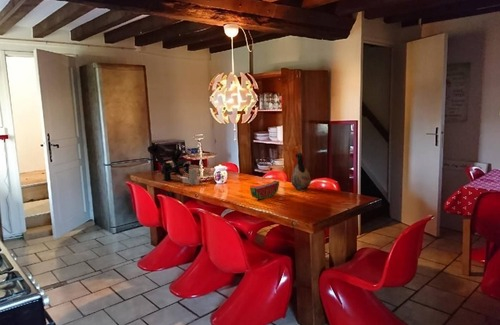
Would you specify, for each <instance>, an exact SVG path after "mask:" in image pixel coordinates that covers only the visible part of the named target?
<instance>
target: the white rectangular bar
mask: <svg viewBox="0 0 500 325" xmlns="http://www.w3.org/2000/svg"><path fill="white" fill-rule="evenodd" d="M181 180H182V183H183V184H189V185H191V184H190V181H189V177H183V178H182V179H181ZM193 185H196V186H198V185H200V179H195V180H194V182H193Z"/></svg>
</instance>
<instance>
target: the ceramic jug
mask: <svg viewBox="0 0 500 325" xmlns="http://www.w3.org/2000/svg"><path fill="white" fill-rule="evenodd" d="M294 157H295V158H296V159H297V164H296V165H295V167H294V169H293V170H292V172H291V177H290V182H291V185H292V186H293V188H294V189H295V191H300V192H303V191H307V190H308V188H309V187H310V185H311V182H312V178H311V174H310V172H309V171H308V169H307V167H306V166H305V165H304V156H303V154H302V153H301V152H298V153H295V155H294Z"/></svg>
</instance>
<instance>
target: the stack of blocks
mask: <svg viewBox="0 0 500 325" xmlns="http://www.w3.org/2000/svg"><path fill="white" fill-rule="evenodd" d="M165 162H166V163H170V164H171V165H172V168H173V167H174V163H173V162H172V161H170V160H168V161H165ZM186 163H187V161H186V162H185V163H184V165H185V164H186ZM184 165H183V166H184ZM180 172H181V173H182V172H186V171H185V169H184V168H181V169H180ZM174 174H175V173H174V172H172V173H170V175H174Z"/></svg>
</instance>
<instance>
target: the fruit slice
mask: <svg viewBox="0 0 500 325" xmlns="http://www.w3.org/2000/svg"><path fill="white" fill-rule="evenodd" d="M279 187H280V181H279V180H273V181H272V182H269V183H266V184H261V185H258V186H254V187H253V186H252V187H249V190H250V195H251V197H252V198H255V199H258V200H264V199H263V198H267V197H269V198H271V197H273V196H275V194H277V193H278V190H279ZM267 199H268V198H267Z"/></svg>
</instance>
